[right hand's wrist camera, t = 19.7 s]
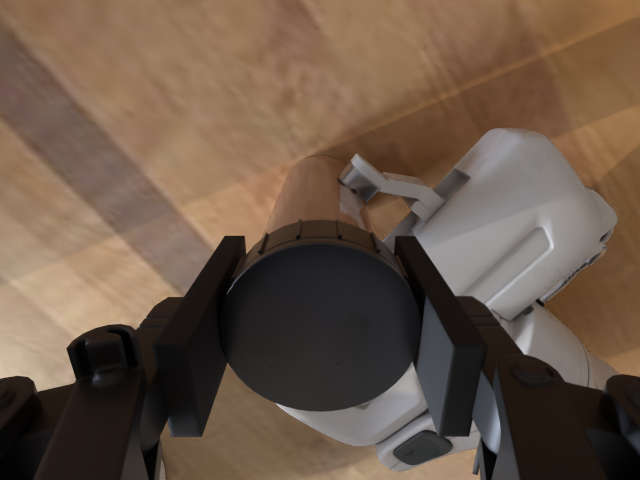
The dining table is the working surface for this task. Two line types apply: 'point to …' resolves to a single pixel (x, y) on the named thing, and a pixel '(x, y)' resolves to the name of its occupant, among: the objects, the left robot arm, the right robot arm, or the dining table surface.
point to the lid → (320, 317)
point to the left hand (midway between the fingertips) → (306, 214)
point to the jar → (318, 196)
